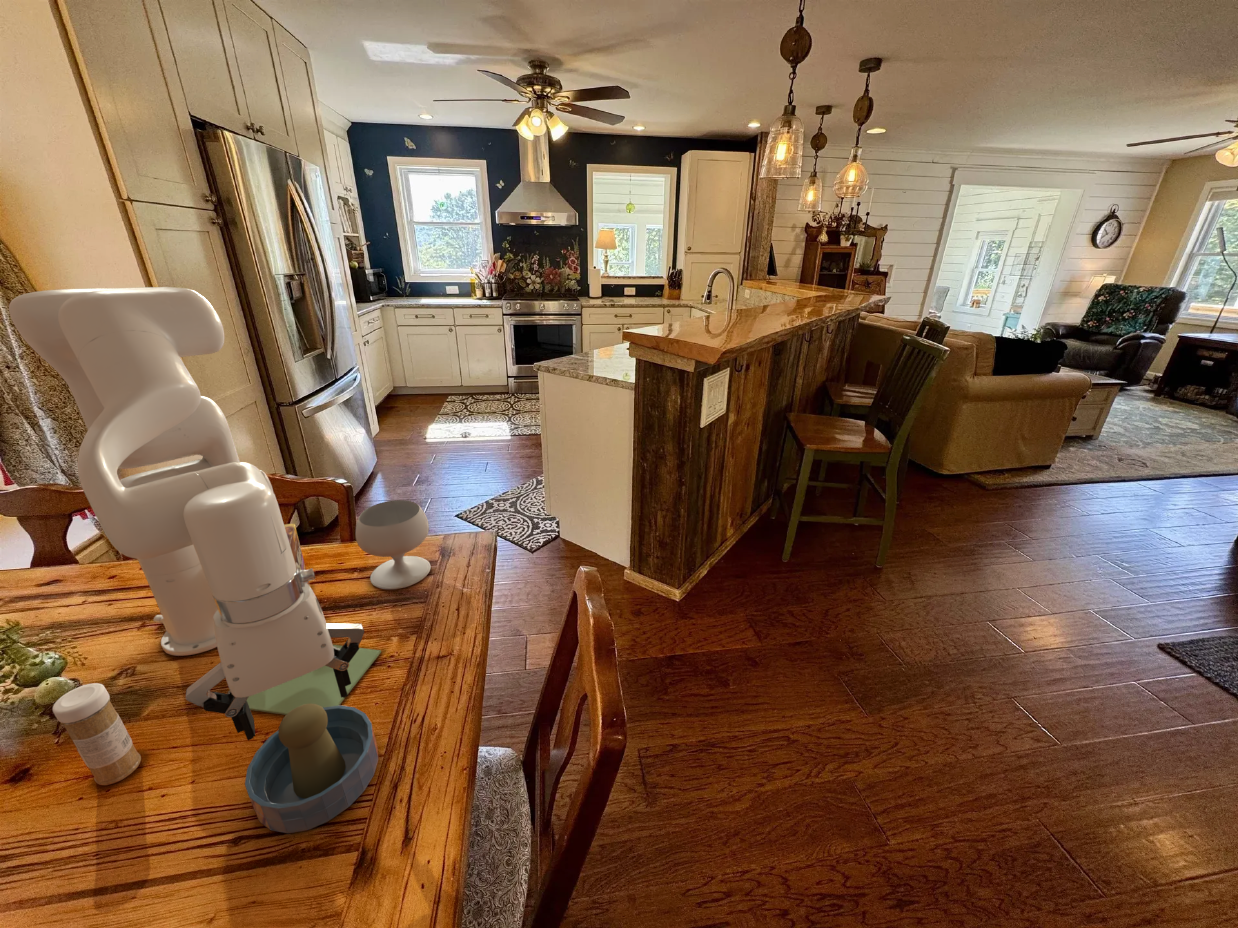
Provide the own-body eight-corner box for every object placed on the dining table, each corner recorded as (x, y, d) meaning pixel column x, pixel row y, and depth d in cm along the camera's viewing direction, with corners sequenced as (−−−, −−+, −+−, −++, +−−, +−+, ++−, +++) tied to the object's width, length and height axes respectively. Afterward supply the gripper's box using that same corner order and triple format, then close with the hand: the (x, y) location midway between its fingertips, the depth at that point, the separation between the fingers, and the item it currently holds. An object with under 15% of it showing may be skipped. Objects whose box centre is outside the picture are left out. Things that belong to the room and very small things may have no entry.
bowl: (227, 825, 60) (215, 797, 58) (309, 724, 72) (301, 699, 70) (334, 843, 58) (324, 816, 56) (398, 737, 71) (393, 712, 69)
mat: (218, 705, 75) (218, 703, 75) (287, 640, 88) (287, 638, 88) (326, 720, 73) (326, 718, 73) (381, 651, 86) (381, 650, 86)
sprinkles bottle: (110, 758, 67) (69, 685, 62) (150, 751, 68) (112, 678, 63) (86, 791, 63) (40, 715, 58) (129, 782, 64) (87, 707, 59)
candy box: (308, 612, 95) (289, 544, 89) (282, 618, 93) (261, 549, 87) (312, 586, 102) (295, 522, 96) (288, 591, 101) (268, 526, 95)
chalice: (373, 559, 112) (360, 500, 106) (438, 552, 115) (429, 494, 109) (358, 597, 99) (343, 533, 93) (431, 588, 102) (421, 525, 96)
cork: (322, 803, 62) (302, 741, 57) (281, 793, 63) (258, 731, 58) (355, 758, 67) (339, 699, 63) (317, 750, 68) (298, 691, 64)
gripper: (342, 552, 61) (368, 659, 68) (158, 607, 51) (210, 725, 58) (355, 581, 56) (382, 694, 62) (151, 648, 46) (209, 774, 52)
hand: (299, 709), depth 60 cm, fingers open, 9 cm apart
